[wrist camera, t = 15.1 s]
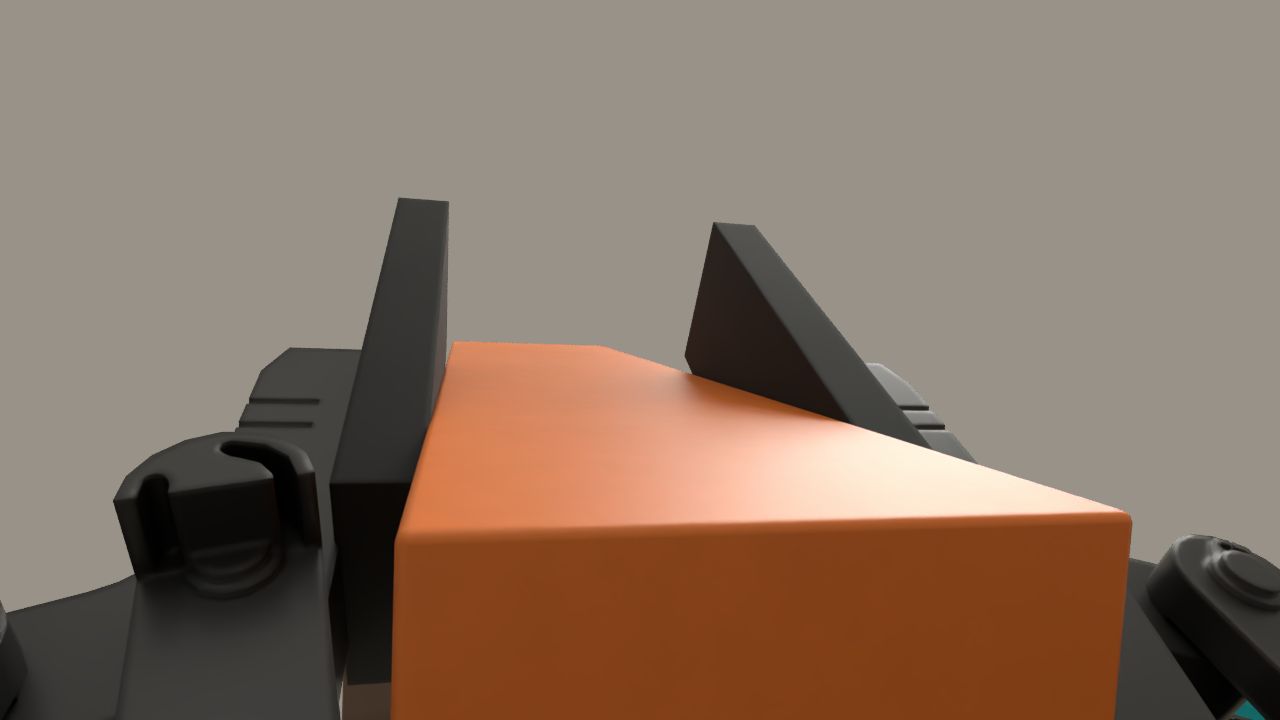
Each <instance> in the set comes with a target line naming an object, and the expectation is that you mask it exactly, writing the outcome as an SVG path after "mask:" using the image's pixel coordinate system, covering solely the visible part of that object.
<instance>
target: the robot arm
mask: <svg viewBox="0 0 1280 720" xmlns="http://www.w3.org/2000/svg"><path fill="white" fill-rule="evenodd" d="M448 220H449V202H448V201H434V200H422V199H409V198H399V199H398V203H397V207H396V211H395V215H394V219H393V223H392V228H391V231H390V235H389V239H388V244H387V248H386V252H385V256H384V260H383V264H382V269H381V272H380V276H379V281H378V285H377V289H376V293H375V297H374V301H373V306H372V309H371V313H370V317H369V322H368V326H367V330H366V334H365V338H364V342H363V346H362V350H352V349H319V348H289V349H288V350H286V351H285V352H284V353H282V354H281V355H280V356H279V357H277V358H276V359H275V360H274V361H273V362H271V363H270V364H269V365H267V366H266V367H265V368H264V369H263V370H262V371H261V372H260V374H259V377H258V379H257V382H256V384H255V386H254V388H253V390H252V393H251V395H250V397H249V404H247V405H246V406H245V409H244V411H243V413H242V416H241V418H240V420H239V428H236V430H235V432H220V433H215V434H211V435H206V436H202V437H197V438H192V439H188V440H184V441H182V442H180V443H178V444H176V445H173V446H171V447H169V448H167V449H165V450H162V451H160V452H158V453H156V454H154V455H152V456H150V457H149V458H148V459H147V460H145V461H144V462H143V463H142V464H140V465H139V466H138V467H137V468H136V469H134V470H133V471H132V472H131V473H129V474H128V475H127V476H126V477H125V479H124V481H123V483H122V485H121V486H120V488H119V490H118V492H117V494H116V496H115V498H114V500H113V503H114V506H115V509H116V513H117V516H118V519H119V523H120V526H121V529H122V533H123V536H124V540H125V543H126V546H127V550H128V553H129V556H130V559H131V563H132V566H133V570H134V573H135V574H134V575H132V576H130V577H128V578H125V579H123V580H121V581H119V582H117V583H114V584H111V585H108V586H105V587H101V588H98V589H96V590H92V591H89V592H86V593H82V594H78V595H74V596H70V597H67V598H63V599H59V600H55V601H51V602H47V603H43V604H39V605H36V606H31V607H27V608H24V609H20V610H16V611H12V612H8V613H6V612H5V610H4V608H3V606H2V603H1V601H0V720H340V711H339V699H340V693H341V687H342V681H343V675H344V669H345V665H346V676H347V686H349V685H363V684H378V683H391V677H392V633H393V588H394V544H395V539H396V535H397V532H398V528H399V525H400V521H401V518H402V515H403V511H404V508H405V504H406V501H407V497H408V494H409V491H410V487H411V484H412V480H413V477H414V474H415V470H416V467H417V463H418V460H419V456H420V453H421V450H422V446H423V443H424V439H425V436H426V432H427V429H428V427H429V425H430V421H431V418H432V414H433V411H434V407H435V404H436V400H437V397H438V393H439V390H440V386H441V383H442V379H443V375H444V372H445V361H446V339H447V282H448V281H447V280H448V223H449V221H448ZM685 358H686V360H687V363H688V365H689V367H690V369H691V372H692V374H693V375H696V376H699V377H702V378H705V379H708V380H711V381H715V382H718V383H721V384H724V385H727V386H730V387H734V388H737V389H740V390H743V391H746V392H749V393H753V394H756V395H759V396H762V397H765V398H768V399H772V400H775V401H778V402H781V403H784V404H787V405H791V406H794V407H797V408H800V409H803V410H806V411H810V412H813V413H816V414H819V415H822V416H825V417H829V418H832V419H835V420H838V421H841V422H844V423H847V424H851V425H854V426H857V427H860V428H863V429H866V430H870V431H873V432H876V433H879V434H882V435H885V436H889V437H892V438H895V439H898V440H901V441H904V442H908V443H911V444H914V445H917V446H920V447H923V448H927V449H930V450H933V451H936V452H939V453H942V454H946V455H949V456H952V457H955V458H958V459H961V460H965V461H968V462H971V463H974V464H977V465H978V463H977V462H976V461H975V460H974V459H973V458H972V456H971V455H970V454H969V453H968V452H967V451H966V450H965V448H964V447H963V446H962V445H961V444H960V442H959V441H958V440H957V439H956V438H955V436H954V435H953V434H952V433H951V432H950V431H949V430H945V425H944V424H943V422H942V421H941V420H940V419H939V418H938V417H937V416H936V414H935V413H934V412H933V411H929V406H928V405H927V404H926V403H925V402H924V400H923V399H922V398H921V397H920V395H919V394H918V393H917V392H916V391H915V390H914V389H913V387H912V386H911V385H910V384H909V383H908V382H906V381H905V380H903V379H902V378H900V377H899V376H897V375H896V374H895V373H893V372H892V371H890V370H888V369H887V368H886V367H884V366H883V365H882V364H878V363H864V362H863V361H862V360H861V358H860V357H859V356H858V355H857V353H856V352H855V351H854V350H853V348H852V347H851V346H850V345H849V343H848V342H847V341H846V340H845V338H844V337H843V336H842V335H841V333H840V332H839V331H838V330H837V328H836V327H835V326H834V325H833V323H832V322H831V321H830V320H829V318H828V317H827V316H826V315H825V313H824V312H823V311H822V310H821V308H820V307H819V306H818V304H817V303H816V302H815V301H814V299H813V298H812V297H811V296H810V294H809V293H808V292H807V291H806V289H805V288H804V287H803V286H802V284H801V283H800V282H799V281H798V280H797V278H796V277H795V276H794V274H793V273H792V272H791V271H790V269H789V268H788V267H787V266H786V264H785V263H784V262H783V261H782V259H781V258H780V257H779V256H778V254H777V253H776V252H775V251H774V249H773V248H772V247H771V245H770V244H769V243H768V242H767V240H766V239H765V238H764V237H763V235H762V234H761V233H760V232H759V230H758V229H757V228H756V227H755V226H754V225H743V224H730V223H717V222H714V223H713V227H712V231H711V236H710V240H709V245H708V250H707V254H706V259H705V263H704V268H703V273H702V277H701V282H700V287H699V291H698V296H697V300H696V305H695V310H694V314H693V319H692V323H691V328H690V333H689V337H688V342H687V346H686V351H685ZM1246 701H1248V702H1249V703H1250V704H1251V705H1252V706H1253V707H1254V708H1255V709H1256V710H1257V711H1258V712H1259V713H1260V714H1261V715H1262V717H1263V718H1264V719H1265V720H1280V569H1278V568H1277V567H1276V566H1274V565H1273V564H1271V563H1270V562H1268V561H1267V560H1266V559H1264V558H1262V557H1260V556H1258V555H1256V554H1254V553H1252V552H1251V551H1250V550H1249V549H1247V548H1246V547H1243V546H1241V545H1238V544H1236V543H1230V542H1229V541H1227V540H1223V539H1219V538H1216V537H1212V536H1204V535H1195V534H1190V535H1187V536H1184V537H1180V538H1177V539H1176V540H1175V542H1174V543H1173V544H1172V546H1171V547H1170V548H1169V550H1168V551H1167V553H1166V554H1165V555H1164V556H1163V558H1162V559H1161V561H1160V562H1159V563H1158V564H1154V563H1149V562H1145V561H1141V560H1136V559H1131V558H1129V565H1128V576H1127V587H1126V598H1125V609H1124V620H1123V631H1122V642H1121V653H1120V663H1119V674H1118V685H1117V696H1116V707H1115V718H1114V720H1229V719H1230V718H1231V716H1232V715H1233V714H1234V713H1235V712H1236V711H1237V710H1238V709H1239V708H1240V707H1241V706H1242V705H1243V704H1244V703H1245V702H1246Z"/></svg>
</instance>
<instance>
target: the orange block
mask: <svg viewBox="0 0 1280 720" xmlns="http://www.w3.org/2000/svg"><path fill="white" fill-rule="evenodd" d="M1131 531H1132V520H1131V517H1130V515H1128V514H1127V513H1126V512H1124V511H1122V510H1120V509H1116V508H1113V507H1110V506H1107V505H1103V504H1101V503H1097V502H1094V501H1091V500H1087V499H1085V498H1082V497H1078V496H1075V495H1072V494H1069V493H1065V492H1063V491H1059V490H1056V489H1053V488H1050V487H1047V486H1044V485H1040V484H1037V483H1034V482H1031V481H1028V480H1025V479H1021V478H1018V477H1015V476H1012V475H1009V474H1006V473H1002V472H999V471H996V470H993V469H990V468H987V467H983V466H980V465H977V464H974V463H971V462H968V461H965V460H961V459H958V458H955V457H952V456H949V455H946V454H942V453H939V452H936V451H933V450H930V449H927V448H923V447H920V446H917V445H914V444H911V443H908V442H904V441H901V440H898V439H895V438H892V437H889V436H885V435H882V434H879V433H876V432H873V431H870V430H866V429H863V428H860V427H857V426H854V425H851V424H847V423H844V422H841V421H838V420H835V419H832V418H829V417H825V416H822V415H819V414H816V413H813V412H810V411H806V410H803V409H800V408H797V407H794V406H791V405H787V404H784V403H781V402H778V401H775V400H772V399H768V398H765V397H762V396H759V395H756V394H753V393H749V392H746V391H743V390H740V389H737V388H734V387H730V386H727V385H724V384H721V383H718V382H715V381H711V380H708V379H705V378H702V377H699V376H696V375H692V374H689V373H686V372H683V371H680V370H677V369H673V368H670V367H667V366H664V365H661V364H657V363H654V362H651V361H648V360H645V359H641V358H639V357H636V356H632V355H629V354H626V353H622V352H620V351H616V350H613V349H610V348H607V347H604V346H588V345H558V344H528V343H526V344H525V343H497V342H496V343H495V342H467V341H466V342H465V341H454V342H453V343H452V347H451V350H450V354H449V357H448V361H447V364H446V367H445V372H444V375H443V379H442V383H441V386H440V390H439V393H438V397H437V400H436V404H435V407H434V411H433V414H432V418H431V421H430V425H429V427H428V429H427V432H426V436H425V439H424V443H423V446H422V450H421V453H420V456H419V460H418V463H417V467H416V470H415V474H414V477H413V480H412V484H411V487H410V491H409V494H408V497H407V501H406V504H405V508H404V511H403V515H402V518H401V521H400V525H399V528H398V532H397V535H396V539H395V544H394V588H393V633H392V677H391V720H1114V718H1115V707H1116V696H1117V685H1118V674H1119V663H1120V653H1121V642H1122V631H1123V620H1124V609H1125V598H1126V587H1127V576H1128V565H1129V553H1130V543H1131Z"/></svg>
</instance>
